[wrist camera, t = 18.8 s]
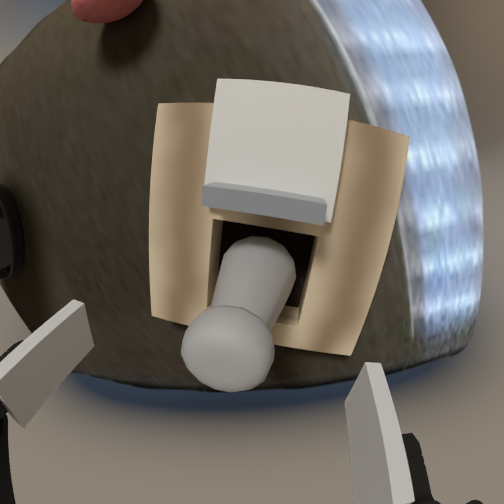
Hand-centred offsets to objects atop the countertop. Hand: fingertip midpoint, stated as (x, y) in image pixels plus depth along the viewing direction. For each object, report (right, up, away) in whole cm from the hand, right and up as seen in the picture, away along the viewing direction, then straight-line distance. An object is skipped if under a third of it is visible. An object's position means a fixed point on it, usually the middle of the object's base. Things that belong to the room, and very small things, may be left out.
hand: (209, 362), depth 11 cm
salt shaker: (+3, +4, +12) cm, 13 cm away
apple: (-11, +30, +6) cm, 33 cm away
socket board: (+3, +7, +11) cm, 13 cm away
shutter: (+3, +12, +6) cm, 14 cm away
